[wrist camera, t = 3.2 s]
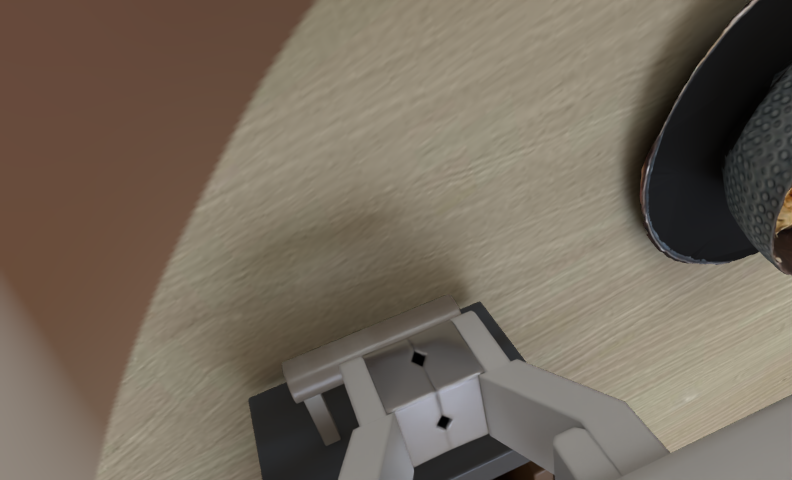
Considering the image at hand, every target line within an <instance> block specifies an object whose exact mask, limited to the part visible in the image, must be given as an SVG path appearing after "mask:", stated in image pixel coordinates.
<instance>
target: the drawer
mask: <svg viewBox="0 0 792 480" xmlns="http://www.w3.org/2000/svg"><path fill="white" fill-rule="evenodd" d="M469 311H473V312H475V313H476V315H477V316H478V317H479V319H480V320H481V322H482V323H483V324H484V326H485V327H486V328H487V330H488V331H489V333H490V334H491V335H492V337H493V338H494V339H495V341H496V342H497V344H498V345H499V346H500V348H501V349H502V350H503V352H504V353H505V355H506V356H507V357H508V359H509V360H510V361H514V360H516V359H518V360H521V361H523V362H526V361H525V360H524V359H523V357H522V356H521V355H520V353H519V352H518V351H517V349H516V348H515V347H514V345H513V344H512V343H511V341H510V340H509V339H508V337H507V336H506V335H505V333H504V332H503V331H502V330H501V328H500V327H499V326H498V324H497V323H496V322H495V320H494V319H493V318H492V316H491V315H490V314H489V312H488V311H487V310H486V308H485V307H484V306H483V304H482V303H481V302H477V303H474V304H472V305H470V306H467V307H465V308H462V309H459V307H458V305H457V303H456V302H455V300H454V299H453V297H452V296H451V295H449V294H447V295H444V296H442V297H439V298H437V299H435V300H432V301H430V302H427V303H425V304H423V305H420V306H418V307H415V308H413V309H410V310H408V311H406V312H403V313H401V314H398V315H396V316H393V317H391V318H389V319H386V320H384V321H381V322H379V323H377V324H374V325H372V326H369V327H367V328H364V329H362V330H360V331H357V332H355V333H352V334H350V335H347V336H345V337H343V338H340V339H338V340H335V341H333V342H331V343H328V344H326V345H323V346H321V347H318V348H316V349H314V350H311V351H309V352H306V353H304V354H301V355H299V356H297V357H294V358H292V359H289V360H287V361H285V362H283V363H282V370H283V374H284V377H285V380H286V383H284V384H281V385H279V386H276V387H274V388H272V389H269V390H267V391H265V392H262V393H260V394H257V395H255V396H253V397H250V398H249V400H248V401H249V407H250V412H251V418H252V424H253V429H254V435H255V440H256V446H257V452H258V457H259V463H260V468H261V474H262V480H338V477H339V474H340V471H341V467H342V464H343V461H344V458H345V454H346V451H347V448H348V445H349V441H350V438H351V435H352V432H353V430H354V429H356V428H358V427H360V426H359V423H358V421H357V418H356V415H355V412H354V409H353V407H352V404H351V401H350V398H349V395H348V393H347V390H346V387H345V384H344V381H343V379H342V376H341V373H340V370H339V364H342V363H344V362H347V361H350V360H352V359H355V358H357V357H360V356H362V355H364V354H367V353H369V352H372V351H374V350H377V349H380V348H382V347H385V346H387V345H390V344H393V343H395V342H398V341H400V340H403V339H406V338H407V337H409V336H412V335H414V334H416V333H419V332H421V331H423V330H426V329H428V328H431V327H433V326H435V325H438V324H440V323H442V322H445V321H447V320H450V319H452V318H454V317H457V316H459V315H461V314H464V313H466V312H469ZM362 358H363V357H362ZM413 480H553V474H552V473H550V472H549V471H547V470H546V469H544V468H542V467H541V466H539V465H537V464H536V463H534V462H532V461H531V460H529V459H527V458H526V457H524V456H523V455H521V454H519V453H518V452H516V451H514V450H513V449H511V448H509V447H508V446H506V445H505V444H503V443H501V442H500V441H498V440H496V439H495V438H493V437H491V436H490V434H487V435H484V436H482V437H480V438H477V439H475V440H473V441H470V442H468V443H465V444H463V445H461V446H458V447H456V448H453V449H451V450H449V451H447V452H445V453H443V454H441V455H439V456H436V457H434V458H432V459H430V460H428V461H426V462H424V463H422V464H420V465H418V466H416V467H414V475H413Z"/></svg>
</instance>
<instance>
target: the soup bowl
mask: <svg viewBox="0 0 792 480" xmlns="http://www.w3.org/2000/svg"><path fill="white" fill-rule="evenodd" d="M641 173H642V177H641V182H640V185H641V189H640V203H641V205H642V209H641V211H642V214H643V217H644V220H645V221H644V223H643V225H644V227H645V229H646V230H647V232H648V234H647V236H648V237H649V239H650V240H651V242H652V243H653V244H654V245H655V247H656V248H657V249H658V250H659V251H661V252H663V253H664V254H665V255H666V256H667V257H669V258H672V259H673V260H675V261H680V262H683V263H699V264H716V265H717V264H724V263H730V262H731V261H735V260H738V259H742V258H744V257H746V256H749V255H753V254H756V253H758V252H760V253H761V254H762V255H763V256H764V257H765V258H766V259H767V260H769V261H770V262H771V263H772V264H773V265H774V266H775V267H776V268H777V269H778V270H780V271H781V272H783V273H784V274H787V275H792V0H751V1H750V2H749V3H748V4H747V5H746V6H745V7H744V8H743V9H742V10H741V11H740V12H739V13H738V14H737V15H736V16H735V17H733V18H732V19H731V20H730V22H729V24H728V25H727V26H726V28H725V29H724V31H723V32H722V34H721V35H720V37H719V38H718V39H717V41H716V42H715V43H714V45H713V46H712V47H711V48H710V49H709V51H708V52H707V54H706V55H705V57H704V58H703V59H702V60H701V61H700V63H699V64H698V65H697V67H696V68H695V70H694V71H693V73H692V74H691V76H690V79H689V81H688V82H687V83H686V85H685V86H684V87H683V89H682V91H681V92H680V94H679V96H678V98H677V99H676V100H675V102H674V105H673V108H672V110H671V112H670V114H669V115H668V117H667V119H666V121H665V123H664V125H663V127H662V129H661V131H660V133H659V135H658V137H657V139H656V140H655V142H654V143H653V145H652V147H651V148H650V150H649V153H648V155H647V157H646V160H645V162H644V165H643V167H642V171H641Z"/></svg>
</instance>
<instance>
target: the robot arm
mask: <svg viewBox="0 0 792 480" xmlns="http://www.w3.org/2000/svg"><path fill="white" fill-rule="evenodd" d="M362 357H363V358H362ZM339 370H340V373H341V376H342V379H343V381H344V384H345V387H346V390H347V393H348V395H349V398H350V401H351V404H352V407H353V409H354V412H355V415H356V418H357V421H358V423H359V426H360V427H358V428H356V429H354V430H353V432H352V435H351V438H350V441H349V445H348V448H347V451H346V454H345V458H344V461H343V464H342V467H341V471H340V474H339V477H338V480H413V475H414V467H416V466H418V465H420V464H422V463H424V462H426V461H428V460H430V459H432V458H434V457H436V456H439V455H441V454H443V453H445V452H447V451H449V450H451V449H453V448H456V447H458V446H461V445H463V444H465V443H468V442H470V441H473V440H475V439H477V438H480V437H482V436H484V435H487V434H490V436H491V437H493V438H495V439H496V440H498V441H500V442H501V443H503V444H505V445H506V446H508V447H509V448H511V449H513V450H514V451H516V452H518V453H519V454H521V455H523V456H524V457H526V458H527V459H529V460H531V461H532V462H534V463H536V464H537V465H539V466H541V467H542V468H544V469H546V470H547V471H549V472H550V473H552V474H554V475H555V480H792V395H790V396H788V397H786V398H783V399H781V400H779V401H777V402H775V403H773V404H771V405H769V406H767V407H765V408H763V409H761V410H759V411H757V412H755V413H752V414H750V415H748V416H746V417H744V418H742V419H740V420H738V421H736V422H734V423H732V424H730V425H728V426H726V427H724V428H721V429H719V430H717V431H715V432H713V433H711V434H709V435H707V436H705V437H703V438H701V439H699V440H697V441H695V442H693V443H690V444H688V445H686V446H684V447H682V448H680V449H678V450H676V451H674V452H672V453H670V452H669V451H668V450H667V449H666V447H665V446H664V445H663V444H662V443H661V442H660V441H659V440H658V438H657V437H656V436H655V435H654V434H653V433H652V432H651V431H650V429H649V428H648V427H647V426H646V425H645V424H644V423H643V421H642V420H641V419H640V418H639V417H638V416H637V415H636V414H635V412H634V411H633V410H632V409H631V408H630V407H629V406H628V404H627V403H626V402H624V401H622V400H619V399H617V398H614V397H612V396H609V395H607V394H604V393H602V392H599V391H597V390H594V389H591V388H589V387H586V386H584V385H581V384H579V383H576V382H574V381H571V380H569V379H566V378H564V377H561V376H559V375H556V374H554V373H551V372H549V371H546V370H543V369H541V368H538V367H536V366H533V365H531V364H528V363H526V362H523V361H521V360H518V359H516V360H514V361H510V360H509V359H508V357H507V356H506V355H505V353H504V352H503V350H502V349H501V348H500V346H499V345H498V344H497V342H496V341H495V339H494V338H493V337H492V335H491V334H490V333H489V331H488V330H487V328H486V327H485V326H484V324H483V323H482V322H481V320H480V319H479V317H478V316H477V315H476V313H475V312H473V311H469V312H466V313H464V314H461V315H459V316H457V317H454V318H452V319H450V320H447V321H445V322H442V323H440V324H438V325H435V326H433V327H431V328H428V329H426V330H423V331H421V332H419V333H416V334H414V335H412V336H409V337H407V338H406V339H403V340H400V341H398V342H395V343H393V344H390V345H387V346H385V347H382V348H380V349H377V350H374V351H372V352H369V353H367V354H364V355H362V356H360V357H357V358H355V359H352V360H350V361H347V362H344V363H342V364H339Z"/></svg>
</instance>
